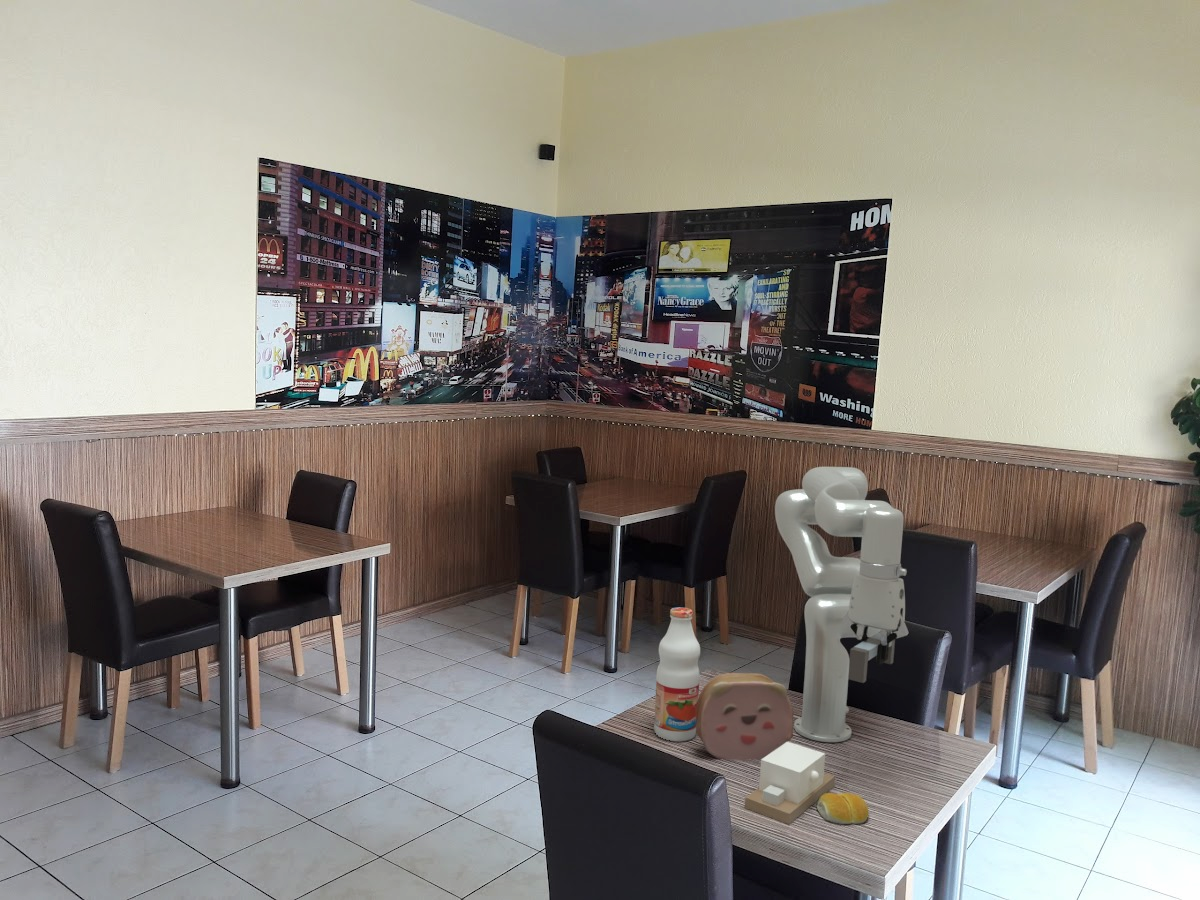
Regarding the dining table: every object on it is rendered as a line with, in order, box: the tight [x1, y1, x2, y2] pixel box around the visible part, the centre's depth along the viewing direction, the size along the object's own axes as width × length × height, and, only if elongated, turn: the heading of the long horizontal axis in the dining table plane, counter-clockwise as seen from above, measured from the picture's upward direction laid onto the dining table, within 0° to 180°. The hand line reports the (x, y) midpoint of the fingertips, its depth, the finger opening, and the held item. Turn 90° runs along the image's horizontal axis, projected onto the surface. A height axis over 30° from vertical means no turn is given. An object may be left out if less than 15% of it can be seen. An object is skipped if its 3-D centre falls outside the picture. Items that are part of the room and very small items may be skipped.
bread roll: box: [816, 792, 869, 825], centre depth 172 cm, size 8×9×4 cm
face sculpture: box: [696, 672, 795, 761], centre depth 195 cm, size 20×7×17 cm, turn 96°
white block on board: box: [744, 741, 836, 825], centre depth 177 cm, size 20×10×8 cm, turn 142°
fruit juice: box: [653, 606, 701, 742], centre depth 203 cm, size 9×9×28 cm
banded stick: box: [848, 631, 896, 684], centre depth 184 cm, size 16×3×6 cm, turn 142°
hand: (872, 659), depth 185 cm, fingers closed on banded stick, 3 cm apart
